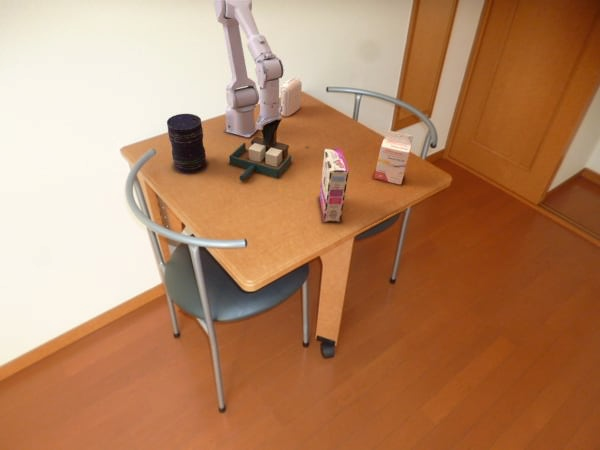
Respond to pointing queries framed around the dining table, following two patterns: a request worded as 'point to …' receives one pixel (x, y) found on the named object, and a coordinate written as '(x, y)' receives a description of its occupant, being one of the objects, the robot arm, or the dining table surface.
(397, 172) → the ink cartridge box
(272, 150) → the cream white cube
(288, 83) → the photo printer
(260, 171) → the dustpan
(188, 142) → the storage jar
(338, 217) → the candy bar box
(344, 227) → the dining table surface
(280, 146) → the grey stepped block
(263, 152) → the beige cube
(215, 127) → the dining table surface
